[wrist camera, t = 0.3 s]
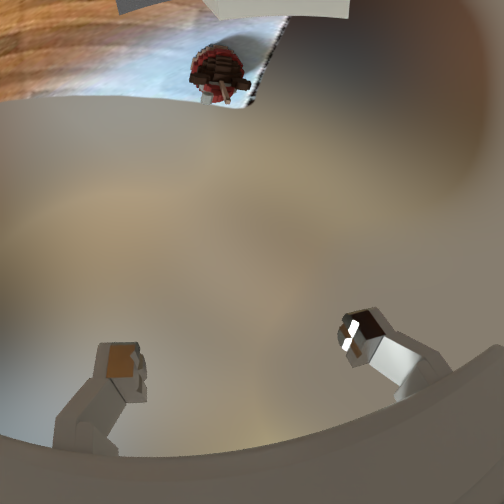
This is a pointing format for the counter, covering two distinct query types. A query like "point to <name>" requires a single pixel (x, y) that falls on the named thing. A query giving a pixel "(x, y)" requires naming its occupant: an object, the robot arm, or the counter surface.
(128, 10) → the gray rectangular bar
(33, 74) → the counter surface
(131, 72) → the counter surface
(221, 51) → the cake
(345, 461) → the robot arm
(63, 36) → the counter surface
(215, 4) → the step stand
